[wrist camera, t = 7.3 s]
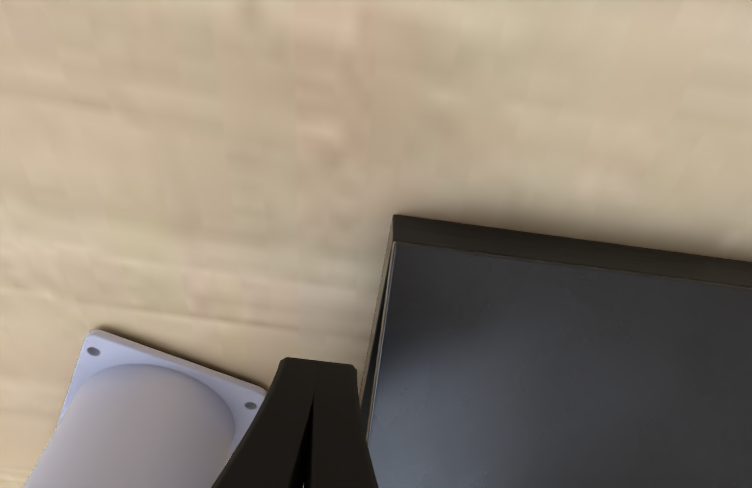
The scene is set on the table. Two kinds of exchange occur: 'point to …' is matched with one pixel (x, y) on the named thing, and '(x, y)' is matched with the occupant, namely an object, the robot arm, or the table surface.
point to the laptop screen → (558, 376)
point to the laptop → (542, 250)
